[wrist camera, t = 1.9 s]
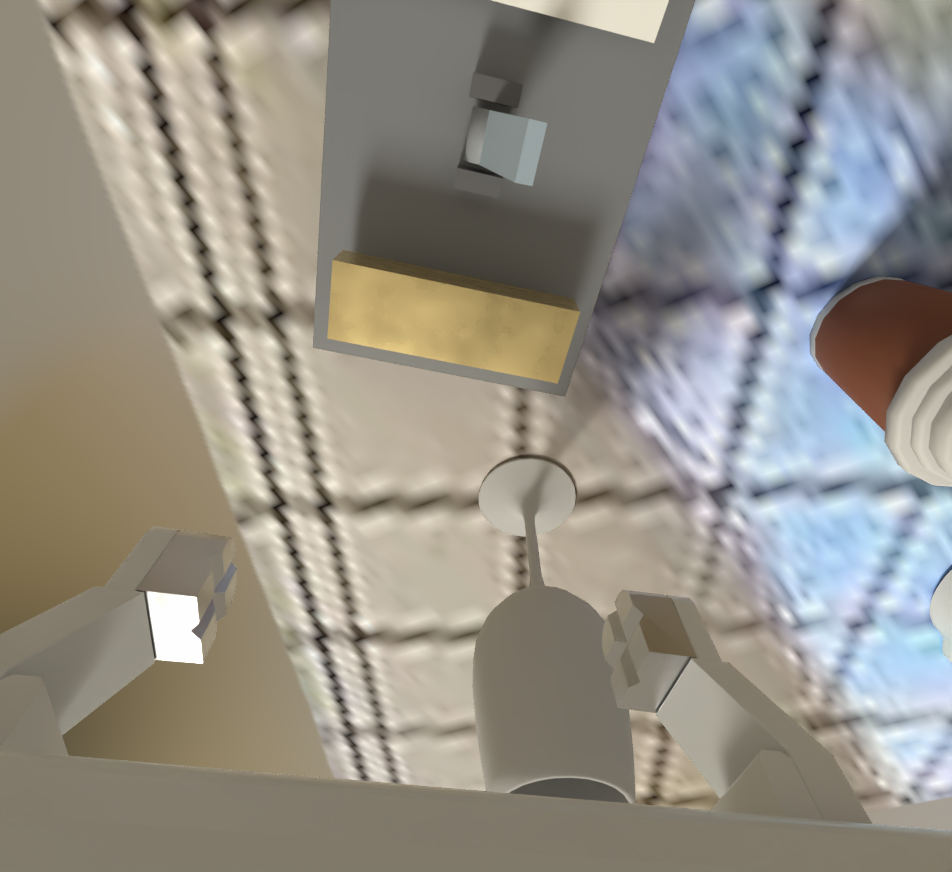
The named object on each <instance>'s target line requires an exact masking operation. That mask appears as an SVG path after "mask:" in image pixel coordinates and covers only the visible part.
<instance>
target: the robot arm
mask: <svg viewBox="0 0 952 872" xmlns="http://www.w3.org/2000/svg"><path fill="white" fill-rule="evenodd" d="M235 554H236V543H235V539H233V538H231V537H225V536H218V535H212V534H206V533H200V532H193V531H187V530H177V529H171V528H165V527H158V526H154V527H153V528H151V529H149V530H148V531H147V532H146V533H145V534H144V536H143V537H142V538H141V540H140V541H139V542H138V544H137V545H136V546H135V547H134V549H133V550H132V551H131V553H130V554H129V555H128V556H127V558H126V559H125V560H124V562H123V563H122V564H121V566H120V567H119V568H118V569H117V571H116V572H115V573H114V575H113V576H112V577H111V578H110V580H109V581H108V582H107V584H106V585H105V586H104V587H97V586H95V587H93V588H91V589H89V590H87V591H85V592H83V593H81V594H79V595H77V596H75V597H73V598H71V599H69V600H67V601H65V602H64V603H61V604H60V605H57V606H55V607H53V608H51V609H49V610H47V611H46V612H44V613H42V614H40V615H38V616H36V617H34V618H32V619H30V620H28V621H26V622H24V623H22V624H20V625H18V626H16V627H14V628H12V629H10V630H8V631H6V632H4V633H2V634H0V872H952V831H948V830H937V829H925V828H913V827H901V826H890V825H877V824H872V822H871V821H870V819H869V817H868V815H867V814H866V812H865V810H864V808H863V807H862V805H861V803H860V801H859V800H858V798H857V796H856V795H855V793H854V791H853V789H852V788H851V786H850V784H849V782H848V781H847V779H846V777H845V775H844V774H843V772H842V770H841V768H840V767H839V765H838V763H837V762H836V760H835V758H834V756H833V755H832V754H831V753H830V752H829V751H828V750H826V749H825V748H824V747H823V746H822V745H821V744H820V743H819V742H817V741H816V740H815V739H814V738H813V737H812V736H811V735H810V734H808V733H807V732H806V731H805V730H804V729H803V728H802V727H801V726H799V725H798V724H797V723H796V722H795V721H794V720H793V719H792V718H790V717H789V716H788V715H787V714H786V713H785V712H784V711H783V710H781V709H780V708H779V707H778V706H777V705H776V704H775V703H774V702H772V701H771V700H770V699H769V698H768V697H767V696H766V695H765V694H763V693H762V692H761V691H760V690H759V689H758V688H757V687H756V686H754V685H753V684H752V683H751V682H750V681H749V680H748V679H747V678H746V677H744V676H743V675H742V674H741V673H740V672H739V671H738V670H737V669H735V668H734V667H733V666H732V665H731V664H730V663H728V662H722V660H721V658H720V656H719V654H718V652H717V650H716V648H715V646H714V644H713V641H712V639H711V637H710V635H709V633H708V631H707V629H706V627H705V625H704V623H703V621H702V619H701V616H700V614H699V612H698V610H697V608H696V606H695V604H694V602H693V601H692V600H691V599H690V598H686V597H677V596H669V595H667V596H665V595H660V594H652V593H644V592H636V591H628V590H622V591H621V592H620V593H619V594H618V596H617V598H616V600H615V605H616V608H617V611H615V612H613V613H612V614H610V615H608V617H607V619H606V621H605V624H604V626H603V633H602V648H603V653H604V657H605V660H606V661H607V662H608V663H609V665H610V666H611V667H612V668H613V669H614V672H613V674H612V676H611V678H610V681H611V684H612V688H613V692H614V696H615V699H616V703H617V707H618V708H623V709H631V710H638V711H645V712H653V713H657V714H656V716H657V717H658V719H659V720H660V721H661V722H662V724H663V725H664V726H665V728H666V729H667V730H668V732H669V733H670V734H671V735H672V737H673V738H674V739H675V741H676V742H677V743H678V745H679V746H680V747H681V748H682V750H683V751H684V752H685V754H686V755H687V756H688V758H689V759H690V760H691V761H692V763H693V764H694V765H695V767H696V768H697V769H698V771H699V772H700V773H701V775H702V776H703V777H704V778H705V780H706V781H707V782H708V784H709V785H710V786H711V788H712V789H713V790H714V791H715V793H716V794H717V795H718V797H719V798H720V799H719V801H718V802H717V803H716V804H715V805H714V807H713V808H712V809H711V810H701V809H690V808H678V807H666V806H654V805H643V804H631V803H619V802H607V801H595V800H583V799H572V798H560V797H548V796H536V795H524V794H512V793H500V792H489V791H477V790H465V789H453V788H441V787H429V786H418V785H406V784H394V783H382V782H370V781H359V780H347V779H335V778H323V777H310V776H299V775H288V774H276V773H264V772H253V771H241V770H229V769H217V768H205V767H194V766H181V765H170V764H159V763H147V762H135V761H123V760H112V759H99V758H88V757H76V756H68V753H67V750H66V747H65V744H64V741H63V738H62V735H63V734H64V733H66V732H67V731H68V730H70V729H71V728H72V727H73V726H75V725H76V724H77V723H78V722H80V721H81V720H82V719H83V718H85V717H86V716H87V715H89V714H90V713H91V712H92V711H93V710H95V709H96V708H97V707H99V706H100V705H101V704H103V703H104V702H105V701H106V700H108V699H109V698H110V697H111V696H113V695H114V694H115V693H116V692H118V691H119V690H120V689H122V688H123V687H124V686H125V685H127V684H128V683H129V682H131V681H132V680H133V679H134V678H136V677H137V676H138V675H139V674H140V673H142V672H143V671H144V670H146V669H147V668H148V667H150V666H151V665H152V664H153V663H155V659H156V660H168V661H180V662H181V661H182V662H193V663H203V661H204V659H205V657H206V655H207V653H208V651H209V649H210V647H211V645H212V643H213V641H214V639H215V637H216V635H217V628H216V621H218V620H219V619H221V618H222V617H224V616H225V615H226V614H227V611H228V609H229V607H230V605H231V603H232V599H233V596H234V592H235V589H236V580H237V568H236V567H235V566H234V565H233V564H232V562H231V561H232V560H233V558H234V556H235ZM930 616H931V620H932V622H933V624H934V626H935V627H936V628H937V630H938V631H939V632H940V633H941V635H942V636H943V654H944V656H945V657H946V658H947V659H948V660H949V661H950V662H951V663H952V570H951V571H950V572H949V573H948V574H947V575H946V576H945V577H944V579H943V580H942V581H941V582H940V584H939V586H938V587H937V589H936V591H935V593H934V595H933V597H932V600H931V604H930Z"/></svg>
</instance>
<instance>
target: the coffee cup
mask: <svg viewBox="0 0 952 872" xmlns="http://www.w3.org/2000/svg"><path fill="white" fill-rule="evenodd" d="M810 354H811V356H812V357H813V359H814V361H815V362H816V364H817V366H818V367H819V368H820V369H822V370H823V371H824V372H825V373H826V374H827V375H828V376H829V377H830V378H831V379H832V380H833V381H834V382H835V383H836V384H837V385H838V386H839V387H840V388H841V389H842V390H843V391H844V392H845V393H846V394H847V395H848V396H849V397H850V398H851V399H852V400H853V401H854V402H855V403H856V404H857V405H858V406H859V407H861V408H862V409H863V410H864V411H865V412H866V413H867V414H868V415H869V416H870V417H871V418H872V419H873V420H874V421H875V422H876V423H877V424H878V425H879V426H880V427H881V428H882V429H883V430H884V431H885V443H886V445H887V446H888V448H889V450H890V452H891V453H892V455H893V457H894V459H895V460H896V462H897V464H898V465H899V466H900V467H902V468H903V469H904V470H905V471H906V472H908V473H910V474H912V475H914V476H916V477H918V478H920V479H922V480H924V481H926V482H928V483H930V484H932V485H936V486H952V292H948V291H944V290H940V289H936V288H932V287H929V286H925V285H921V284H917V283H913V282H909V281H906V280H903V279H900V278H896V277H882V276H876V277H873V278H870V279H866V280H863V281H860V282H856V283H854V284H852V285H851V286H849V287H848V288H846V289H845V290H843V291H842V292H840V293H839V294H837V295H836V296H834V297H833V298H832V299H831V300H830V301H829V303H828V304H827V305H826V306H825V307H824V308H823V310H822V311H821V312H820V313H819V314H818V316H817V318H816V321H815V323H814V326H813V328H812V330H811V333H810Z"/></svg>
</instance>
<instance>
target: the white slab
mask: <svg viewBox="0 0 952 872" xmlns="http://www.w3.org/2000/svg"><path fill="white" fill-rule="evenodd" d="M492 1H496V2H499V3H503V4H507V5H511V6H515V7H518V8H522V9H526V10H530V11H534V12H537V13H541V14H545V15H549V16H553V17H556V18H560V19H564V20H568V21H572V22H575V23H579V24H583V25H587V26H591V27H594V28H598V29H602V30H606V31H610V32H613V33H617V34H621V35H625V36H629V37H632V38H636V39H640V40H644V41H648V42H651V43H654V42H655V39H656V36H657V33H658V30H659V28H660V25H661V22H662V19H663V16H664V13H665V10H666V7H667V5H668V2H669V0H492Z"/></svg>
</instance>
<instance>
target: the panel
mask: <svg viewBox="0 0 952 872" xmlns="http://www.w3.org/2000/svg"><path fill="white" fill-rule="evenodd" d="M694 2H695V0H669V2H668V5H667V7H666V10H665V13H664V16H663V19H662V22H661V25H660V28H659V30H658V33H657V36H656V39H655V42H654V43H651V42H648V41H644V40H640V39H636V38H632V37H629V36H625V35H621V34H617V33H613V32H610V31H606V30H602V29H598V28H594V27H591V26H587V25H583V24H579V23H575V22H572V21H568V20H564V19H560V18H556V17H553V16H549V15H545V14H541V13H537V12H534V11H530V10H526V9H522V8H518V7H515V6H511V5H507V4H503V3H499V2H496V1H492V0H331V9H330V29H329V48H328V67H327V86H326V105H325V125H324V144H323V163H322V182H321V202H320V221H319V240H318V259H317V278H316V298H315V317H314V336H313V348H317V349H322V350H327V351H332V352H337V353H343V354H348V355H353V356H358V357H363V358H368V359H374V360H379V361H384V362H389V363H394V364H400V365H405V366H410V367H415V368H420V369H425V370H431V371H436V372H441V373H446V374H451V375H456V376H462V377H467V378H472V379H477V380H482V381H487V382H493V383H498V384H503V385H508V386H513V387H518V388H524V389H529V390H534V391H539V392H544V393H549V394H555V395H560V396H565V395H566V392H567V389H568V386H569V383H570V380H571V377H572V374H573V371H574V368H575V365H576V362H577V359H578V356H579V353H580V350H581V346H582V343H583V340H584V337H585V334H586V331H587V328H588V325H589V322H590V319H591V316H592V313H593V310H594V307H595V304H596V301H597V298H598V295H599V292H600V289H601V286H602V282H603V279H604V276H605V273H606V270H607V267H608V264H609V261H610V258H611V255H612V252H613V249H614V246H615V243H616V240H617V237H618V234H619V231H620V228H621V225H622V222H623V218H624V215H625V212H626V209H627V206H628V203H629V200H630V197H631V194H632V191H633V188H634V185H635V182H636V179H637V176H638V173H639V170H640V167H641V164H642V161H643V158H644V155H645V151H646V148H647V145H648V142H649V139H650V136H651V133H652V130H653V127H654V124H655V121H656V118H657V115H658V112H659V109H660V106H661V103H662V100H663V97H664V94H665V91H666V87H667V84H668V81H669V78H670V75H671V72H672V69H673V66H674V63H675V60H676V57H677V54H678V51H679V48H680V45H681V42H682V39H683V36H684V33H685V30H686V27H687V24H688V20H689V17H690V14H691V11H692V8H693V5H694ZM473 106H474V107H479V108H483V109H487V110H492V111H496V112H501V113H505V114H510V115H515V116H519V117H524V118H528V119H533V120H537V121H541V122H545V123H547V127H546V132H545V136H544V140H543V144H542V148H541V152H540V157H539V161H538V165H537V169H536V173H535V178H534V182H533V186H529V185H524V184H519V183H515V182H513V181H511V180H509V179H507V178H505V177H503V176H501V175H499V174H497V173H495V172H493V171H491V170H489V169H487V168H484V167H482V166H480V165H478V164H474V163H470V162H467V161H465V160H464V154H465V149H466V143H467V137H468V131H469V126H470V120H471V114H472V108H473ZM342 250H346V251H351V252H356V253H360V254H365V255H370V256H375V257H379V258H384V259H389V260H393V261H398V262H403V263H408V264H412V265H417V266H422V267H427V268H431V269H436V270H441V271H445V272H450V273H455V274H460V275H464V276H469V277H474V278H478V279H483V280H488V281H493V282H497V283H502V284H507V285H512V286H516V287H521V288H526V289H530V290H535V291H540V292H545V293H549V294H554V295H559V296H563V297H568V298H573V299H574V300H575V302H576V304H577V306H578V308H579V310H580V315H579V318H578V321H577V324H576V327H575V331H574V334H573V337H572V340H571V343H570V346H569V350H568V353H567V356H566V359H565V362H564V365H563V369H562V372H561V375H560V378H559V381H558V384H557V383H552V382H547V381H542V380H537V379H532V378H527V377H521V376H516V375H511V374H506V373H501V372H496V371H491V370H486V369H480V368H475V367H470V366H465V365H460V364H455V363H450V362H445V361H440V360H434V359H429V358H424V357H419V356H414V355H409V354H404V353H399V352H394V351H388V350H383V349H378V348H373V347H368V346H363V345H358V344H353V343H347V342H342V341H337V340H332V339H327V336H328V321H329V306H330V291H331V276H332V260H333V259H334V258H335V257H336V256H337V255H338V254H339V253H340V252H341V251H342Z"/></svg>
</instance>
